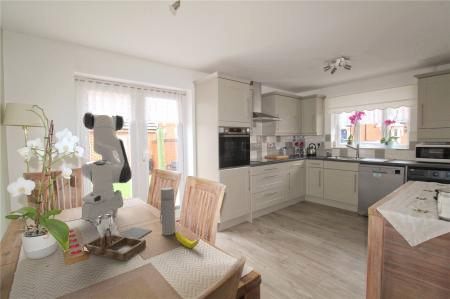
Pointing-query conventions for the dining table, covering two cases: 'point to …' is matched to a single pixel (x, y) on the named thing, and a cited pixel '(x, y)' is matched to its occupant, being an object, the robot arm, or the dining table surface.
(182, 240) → the banana
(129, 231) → the charcoal mat
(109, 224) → the beer glass
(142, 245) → the frame
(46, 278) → the dining table surface
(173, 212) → the water bottle
